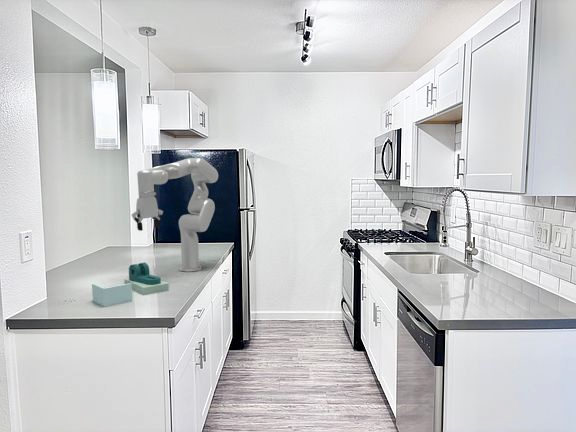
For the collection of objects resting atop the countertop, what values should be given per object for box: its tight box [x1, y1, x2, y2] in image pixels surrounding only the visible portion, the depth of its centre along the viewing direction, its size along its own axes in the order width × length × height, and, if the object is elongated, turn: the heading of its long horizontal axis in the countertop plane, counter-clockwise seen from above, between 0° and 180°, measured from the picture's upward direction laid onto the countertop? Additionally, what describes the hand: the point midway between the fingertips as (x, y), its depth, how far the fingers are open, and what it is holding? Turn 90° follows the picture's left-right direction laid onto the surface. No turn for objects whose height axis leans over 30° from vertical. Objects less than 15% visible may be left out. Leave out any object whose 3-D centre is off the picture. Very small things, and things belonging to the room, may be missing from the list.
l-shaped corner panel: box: [91, 282, 133, 307], centre depth 185 cm, size 12×12×8 cm
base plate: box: [124, 278, 170, 296], centre depth 205 cm, size 12×22×4 cm, turn 43°
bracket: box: [128, 261, 162, 285], centre depth 205 cm, size 18×7×8 cm, turn 52°
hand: (148, 229), depth 217 cm, fingers open, 9 cm apart
